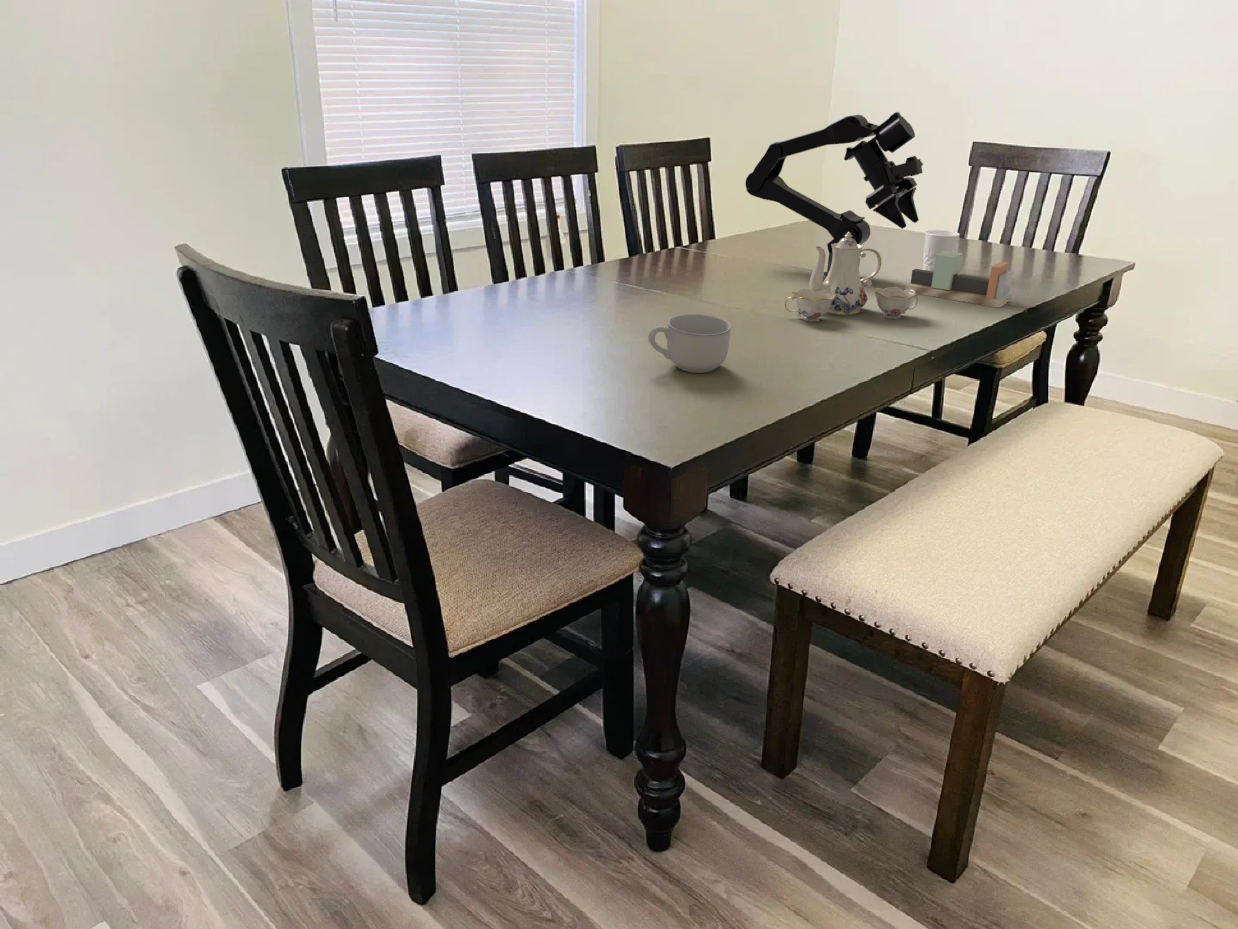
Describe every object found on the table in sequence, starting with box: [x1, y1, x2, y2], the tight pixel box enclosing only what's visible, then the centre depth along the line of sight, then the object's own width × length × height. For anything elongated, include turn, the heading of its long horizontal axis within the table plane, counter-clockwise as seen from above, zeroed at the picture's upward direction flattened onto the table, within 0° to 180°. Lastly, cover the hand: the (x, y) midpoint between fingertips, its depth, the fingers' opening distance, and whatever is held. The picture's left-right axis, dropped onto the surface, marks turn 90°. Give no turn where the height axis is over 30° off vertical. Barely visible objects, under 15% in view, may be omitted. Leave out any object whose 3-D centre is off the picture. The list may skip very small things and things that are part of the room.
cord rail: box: [910, 268, 989, 296], centre depth 204 cm, size 20×2×3 cm, turn 52°
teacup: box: [648, 313, 732, 374], centre depth 155 cm, size 14×11×8 cm
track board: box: [905, 282, 1011, 308], centre depth 205 cm, size 21×7×2 cm, turn 52°
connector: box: [995, 270, 1014, 300], centre depth 198 cm, size 1×5×5 cm, turn 142°
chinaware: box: [784, 232, 918, 323], centre depth 187 cm, size 28×17×17 cm, turn 105°
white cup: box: [921, 229, 961, 271], centre depth 223 cm, size 8×8×10 cm
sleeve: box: [931, 251, 964, 290], centre depth 204 cm, size 4×6×7 cm
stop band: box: [986, 261, 1010, 299], centre depth 198 cm, size 2×6×7 cm, turn 142°
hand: (910, 224), depth 208 cm, fingers open, 9 cm apart
